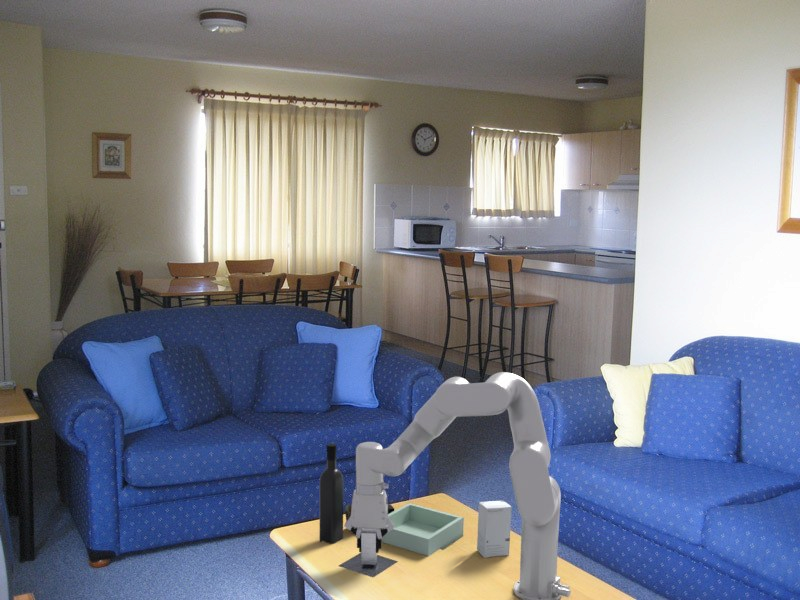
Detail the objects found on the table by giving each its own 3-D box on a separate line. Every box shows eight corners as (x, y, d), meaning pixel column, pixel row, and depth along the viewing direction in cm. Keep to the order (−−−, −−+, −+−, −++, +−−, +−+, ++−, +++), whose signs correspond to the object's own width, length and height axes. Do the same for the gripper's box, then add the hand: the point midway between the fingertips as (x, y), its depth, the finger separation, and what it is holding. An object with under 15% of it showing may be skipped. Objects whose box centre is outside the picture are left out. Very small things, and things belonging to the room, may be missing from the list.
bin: (463, 536, 252) (463, 517, 251) (428, 559, 236) (428, 539, 235) (408, 520, 263) (409, 502, 262) (371, 542, 247) (372, 522, 246)
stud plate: (398, 564, 232) (398, 549, 231) (373, 580, 222) (373, 564, 221) (364, 554, 238) (364, 538, 238) (338, 569, 229) (338, 553, 228)
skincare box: (484, 558, 237) (485, 509, 235) (476, 549, 242) (477, 501, 240) (510, 555, 239) (512, 506, 237) (502, 546, 245) (503, 498, 243)
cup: (365, 538, 249) (365, 513, 248) (341, 536, 251) (342, 511, 250) (371, 528, 256) (371, 504, 255) (348, 526, 258) (348, 502, 257)
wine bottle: (329, 536, 250) (329, 440, 247) (344, 540, 247) (345, 444, 244) (317, 543, 245) (318, 445, 242) (333, 547, 243) (333, 448, 239)
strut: (377, 558, 232) (377, 527, 231) (375, 564, 228) (375, 533, 227) (363, 557, 232) (363, 527, 231) (361, 564, 228) (361, 533, 227)
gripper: (400, 483, 230) (400, 546, 233) (341, 481, 232) (341, 543, 234) (398, 493, 223) (398, 557, 225) (337, 491, 224) (337, 555, 226)
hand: (369, 549), depth 229 cm, fingers closed on strut, 4 cm apart
